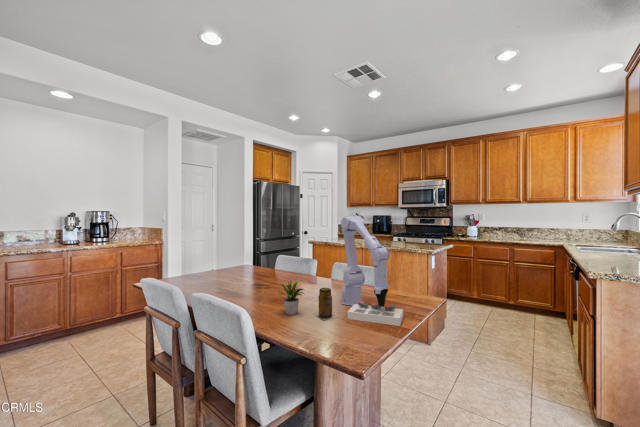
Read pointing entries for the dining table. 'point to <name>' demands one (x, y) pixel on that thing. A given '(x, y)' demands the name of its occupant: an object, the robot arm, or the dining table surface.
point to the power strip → (376, 315)
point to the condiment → (325, 304)
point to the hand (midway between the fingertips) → (381, 306)
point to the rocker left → (363, 304)
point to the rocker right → (390, 307)
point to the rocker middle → (375, 306)
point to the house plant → (291, 297)
